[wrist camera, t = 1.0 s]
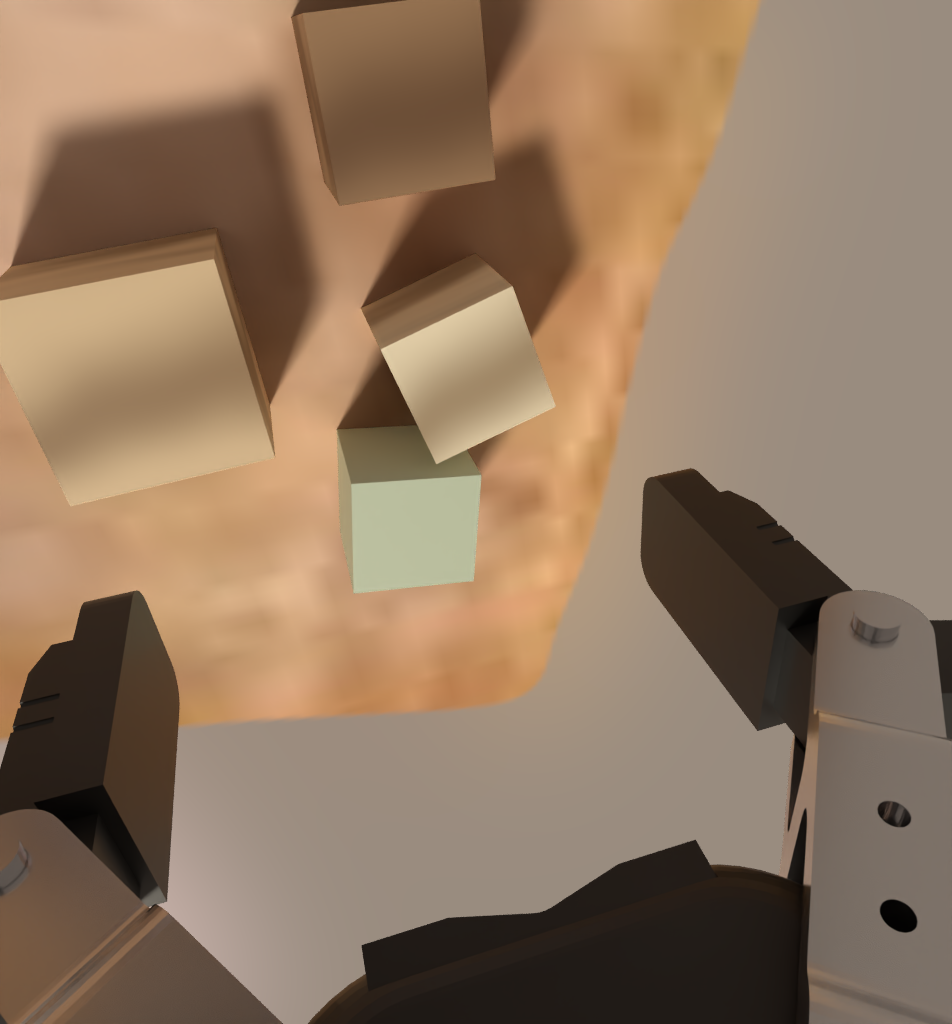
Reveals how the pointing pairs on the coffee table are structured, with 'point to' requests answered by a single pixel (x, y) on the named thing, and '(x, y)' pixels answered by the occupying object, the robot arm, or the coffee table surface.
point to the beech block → (460, 355)
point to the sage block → (405, 510)
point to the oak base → (134, 365)
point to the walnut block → (397, 97)
